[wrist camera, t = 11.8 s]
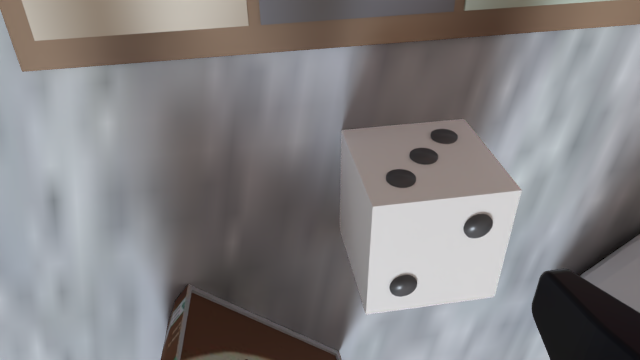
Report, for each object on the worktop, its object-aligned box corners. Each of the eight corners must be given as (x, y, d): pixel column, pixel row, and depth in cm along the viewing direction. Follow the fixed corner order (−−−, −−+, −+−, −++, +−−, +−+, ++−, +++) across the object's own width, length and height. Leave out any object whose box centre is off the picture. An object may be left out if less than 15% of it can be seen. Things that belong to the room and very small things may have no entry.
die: (339, 227, 24) (366, 316, 20) (340, 127, 21) (373, 206, 17) (449, 215, 25) (497, 298, 21) (465, 116, 22) (525, 189, 18)
